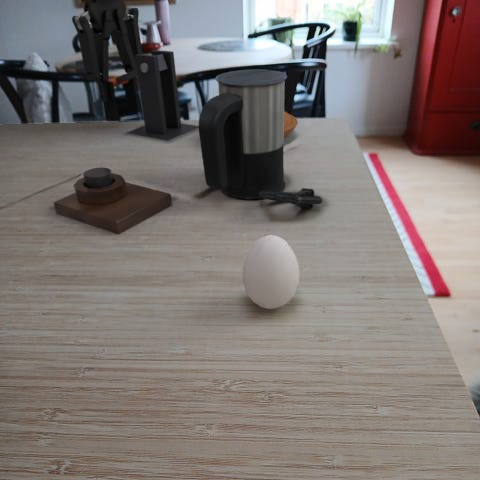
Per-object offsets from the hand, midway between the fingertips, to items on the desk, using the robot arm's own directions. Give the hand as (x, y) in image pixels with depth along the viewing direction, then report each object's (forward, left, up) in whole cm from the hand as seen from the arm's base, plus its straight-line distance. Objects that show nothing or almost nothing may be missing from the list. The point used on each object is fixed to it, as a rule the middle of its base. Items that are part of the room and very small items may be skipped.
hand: (123, 114), depth 98 cm
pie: (+27, +4, -3) cm, 27 cm away
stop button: (+24, -28, 0) cm, 37 cm away
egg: (+56, -36, -3) cm, 67 cm away
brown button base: (+26, -28, -3) cm, 38 cm away
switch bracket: (+10, 0, -3) cm, 10 cm away
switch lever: (+6, 0, +7) cm, 9 cm away
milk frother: (+42, -14, -3) cm, 44 cm away
